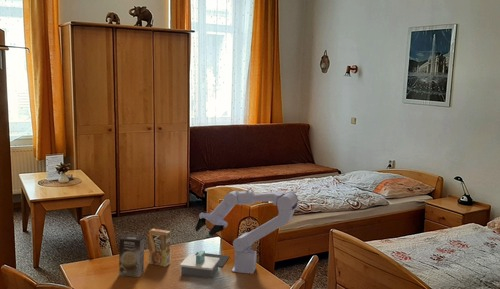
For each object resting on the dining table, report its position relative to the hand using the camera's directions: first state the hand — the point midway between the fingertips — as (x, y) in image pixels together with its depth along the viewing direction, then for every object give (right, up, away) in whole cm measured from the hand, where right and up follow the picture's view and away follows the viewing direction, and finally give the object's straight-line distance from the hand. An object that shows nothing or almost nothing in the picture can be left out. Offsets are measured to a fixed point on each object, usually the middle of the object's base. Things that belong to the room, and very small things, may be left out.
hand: (202, 232), depth 213 cm
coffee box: (-29, -15, -15) cm, 35 cm away
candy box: (-19, -14, -3) cm, 24 cm away
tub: (0, -15, -10) cm, 18 cm away
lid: (0, -11, -11) cm, 16 cm away
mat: (+3, -13, +3) cm, 14 cm away
